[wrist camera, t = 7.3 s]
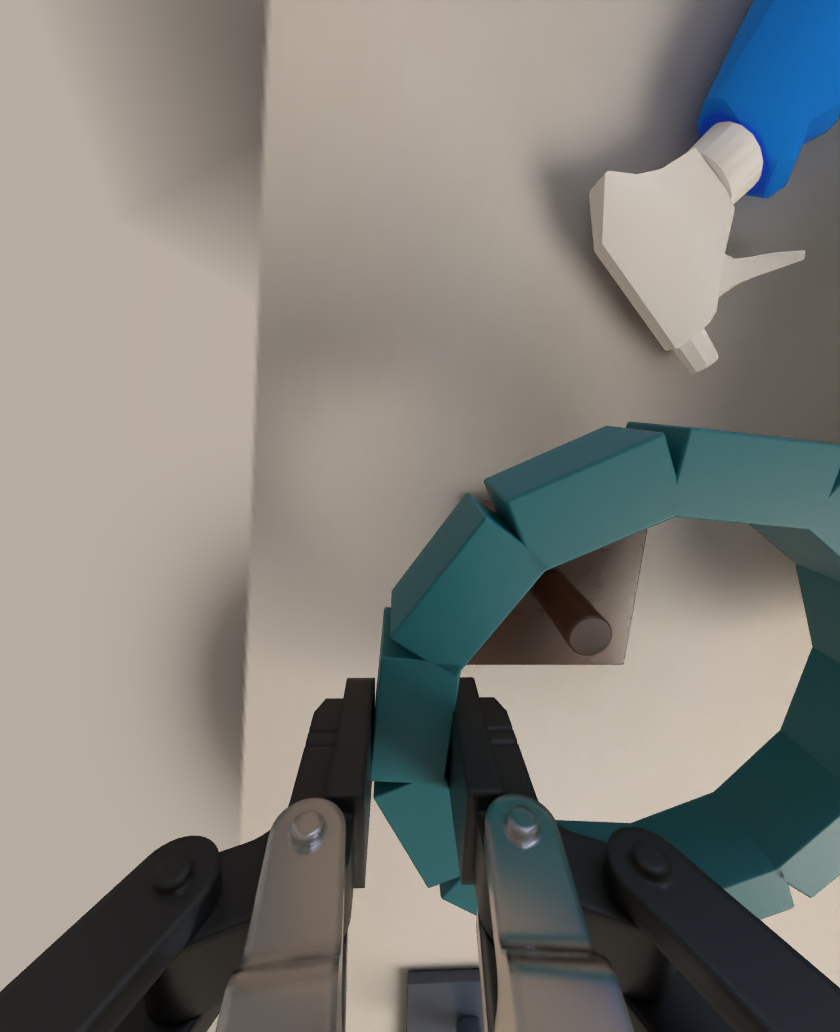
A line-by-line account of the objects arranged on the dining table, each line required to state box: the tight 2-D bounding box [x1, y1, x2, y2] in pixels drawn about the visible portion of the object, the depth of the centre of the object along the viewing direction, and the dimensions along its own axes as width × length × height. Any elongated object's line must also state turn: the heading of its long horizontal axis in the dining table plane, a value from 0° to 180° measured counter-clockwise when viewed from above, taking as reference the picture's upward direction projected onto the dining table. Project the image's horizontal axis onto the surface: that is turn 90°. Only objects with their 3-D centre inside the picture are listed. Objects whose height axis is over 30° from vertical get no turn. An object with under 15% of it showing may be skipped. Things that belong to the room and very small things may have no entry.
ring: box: [371, 422, 840, 919], centre depth 11 cm, size 14×14×2 cm
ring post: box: [466, 501, 647, 665], centre depth 17 cm, size 8×8×4 cm
